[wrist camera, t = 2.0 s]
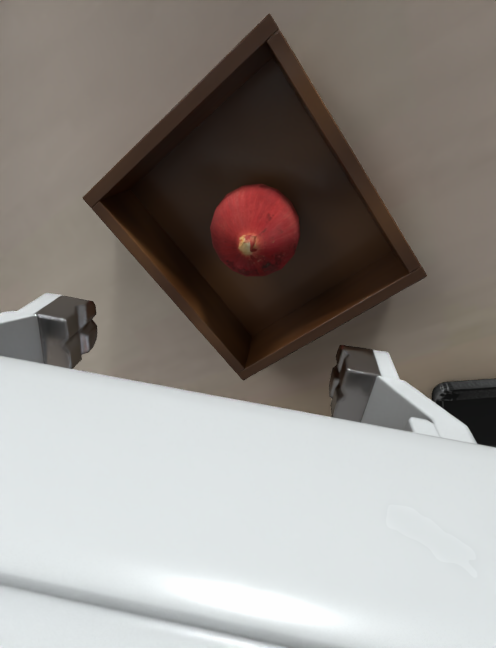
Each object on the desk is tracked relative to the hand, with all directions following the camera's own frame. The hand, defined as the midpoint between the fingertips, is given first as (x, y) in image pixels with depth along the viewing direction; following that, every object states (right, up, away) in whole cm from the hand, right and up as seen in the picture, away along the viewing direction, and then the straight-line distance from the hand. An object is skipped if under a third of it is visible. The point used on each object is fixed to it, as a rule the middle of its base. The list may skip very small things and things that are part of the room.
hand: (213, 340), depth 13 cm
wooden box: (+2, +8, +16) cm, 18 cm away
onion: (+2, +8, +16) cm, 18 cm away
